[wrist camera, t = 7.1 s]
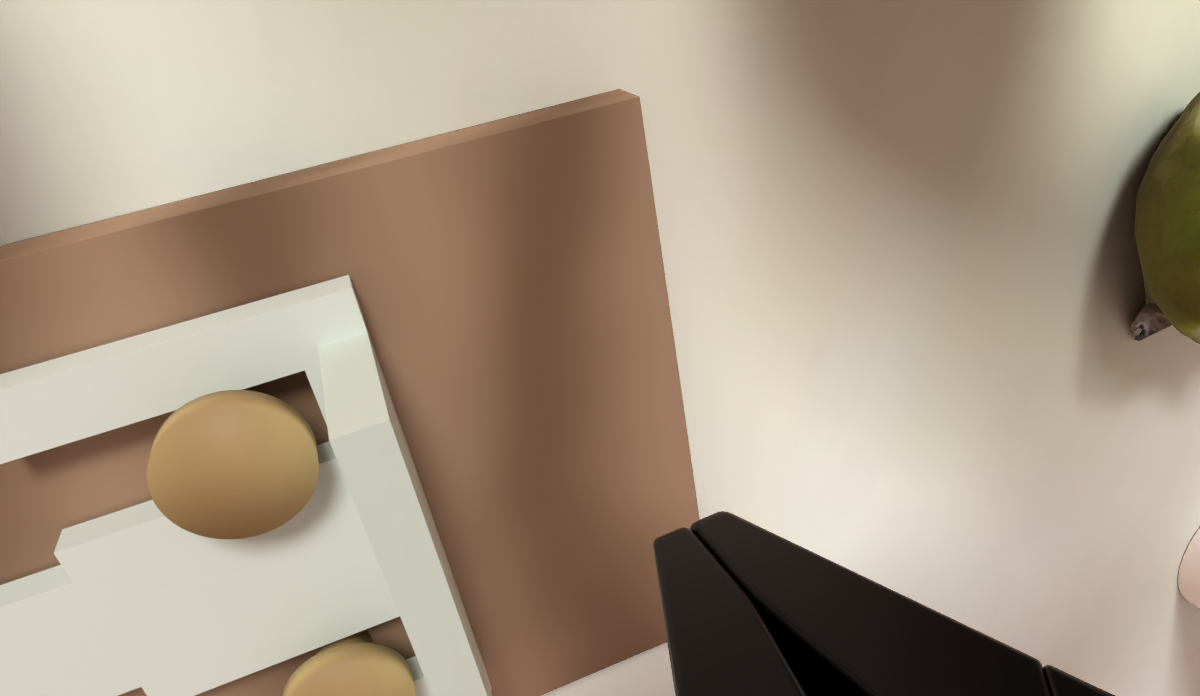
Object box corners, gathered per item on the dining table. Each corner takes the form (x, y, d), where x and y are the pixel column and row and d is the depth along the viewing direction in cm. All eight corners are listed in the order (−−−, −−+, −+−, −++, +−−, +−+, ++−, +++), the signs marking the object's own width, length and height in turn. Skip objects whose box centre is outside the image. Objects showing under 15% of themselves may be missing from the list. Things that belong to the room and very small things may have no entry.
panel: (348, 274, 17) (371, 368, 13) (485, 668, 23) (528, 812, 19) (-343, 472, 14) (-572, 664, 10) (12, 861, 20) (-50, 1078, 16)
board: (619, 89, 19) (680, 112, 16) (696, 595, 26) (747, 672, 23) (-387, 343, 14) (-548, 439, 11) (58, 860, 22) (27, 992, 19)
